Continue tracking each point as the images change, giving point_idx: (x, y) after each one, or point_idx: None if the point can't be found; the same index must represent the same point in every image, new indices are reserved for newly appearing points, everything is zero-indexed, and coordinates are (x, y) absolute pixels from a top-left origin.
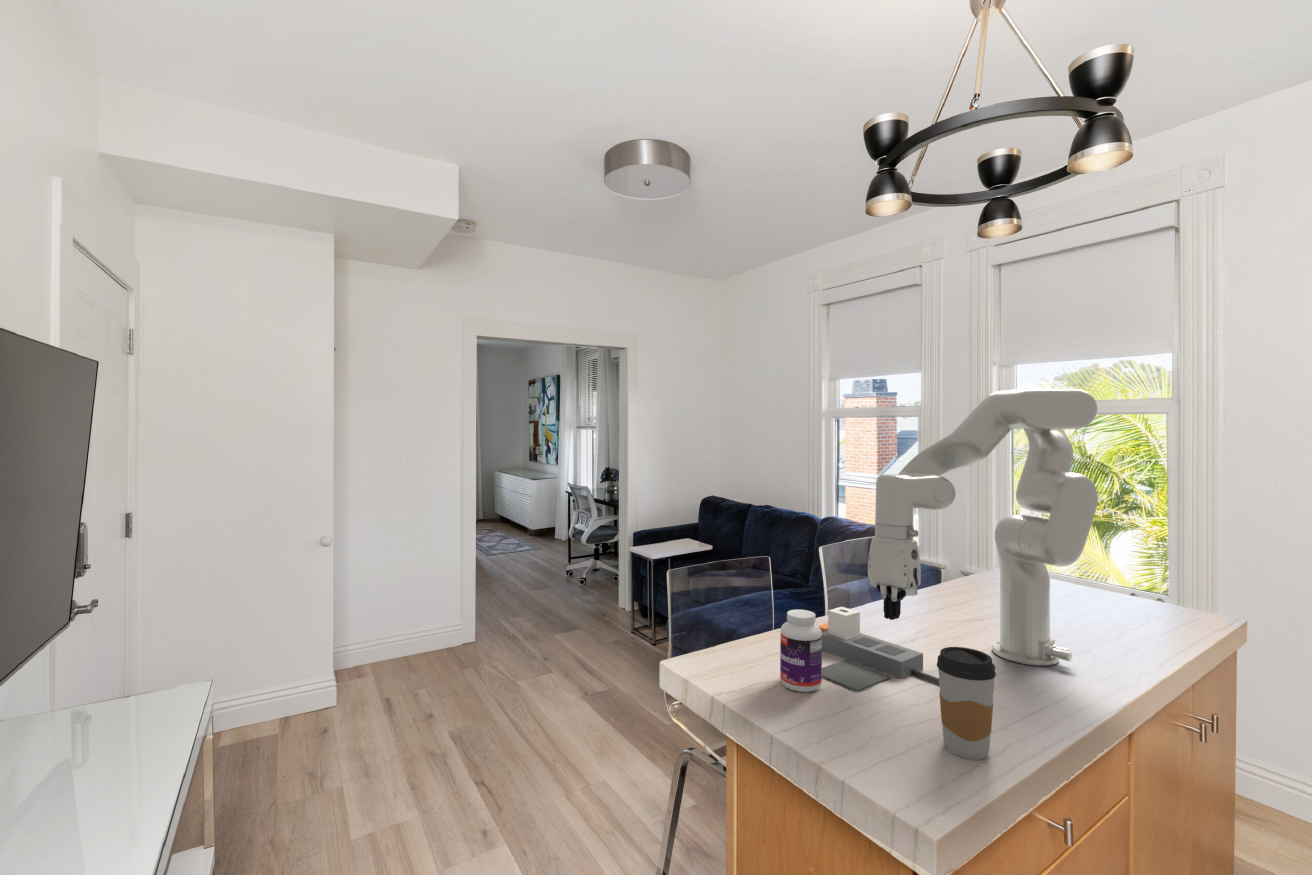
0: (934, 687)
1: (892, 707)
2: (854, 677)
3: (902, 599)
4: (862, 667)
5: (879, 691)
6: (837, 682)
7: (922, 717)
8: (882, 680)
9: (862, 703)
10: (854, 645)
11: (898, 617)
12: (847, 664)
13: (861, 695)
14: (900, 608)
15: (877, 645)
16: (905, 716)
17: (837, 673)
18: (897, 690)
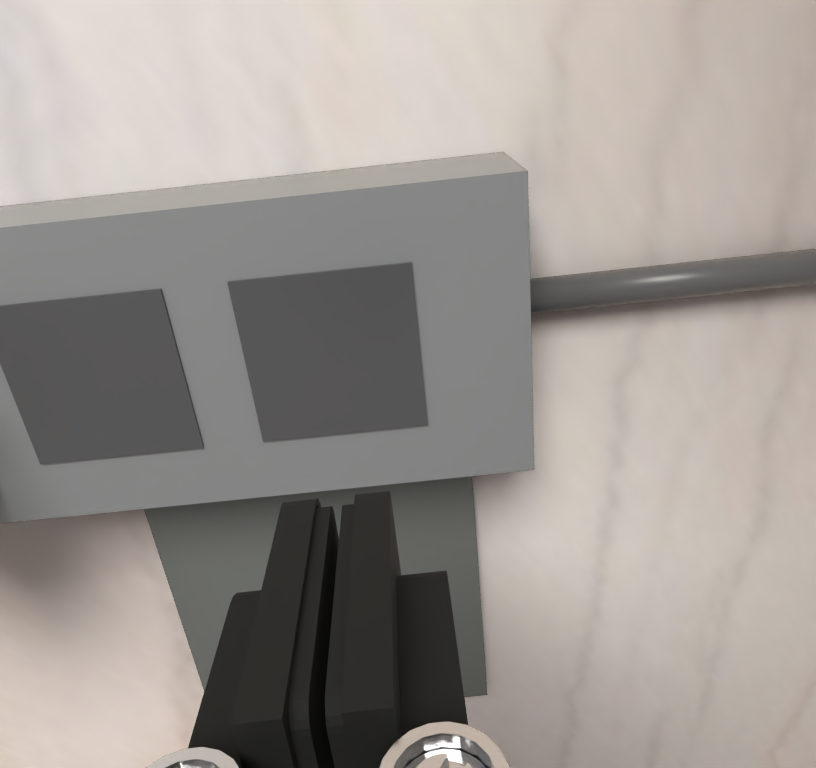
0: (703, 342)
1: (672, 670)
2: None
3: (487, 745)
4: (289, 497)
5: (539, 609)
6: None
7: (806, 641)
8: (474, 526)
9: (569, 731)
10: (130, 508)
11: (391, 505)
12: (213, 536)
13: (517, 692)
14: (453, 630)
15: (199, 361)
16: (750, 683)
17: None
18: (588, 537)
